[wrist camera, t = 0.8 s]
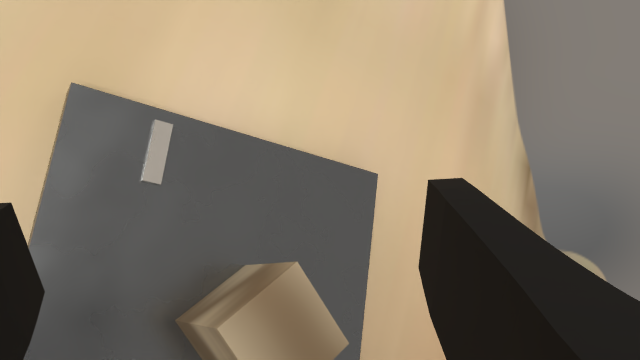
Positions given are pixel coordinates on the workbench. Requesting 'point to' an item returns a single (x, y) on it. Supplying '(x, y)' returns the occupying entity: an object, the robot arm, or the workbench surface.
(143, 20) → the workbench surface
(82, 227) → the crank base
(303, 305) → the block
